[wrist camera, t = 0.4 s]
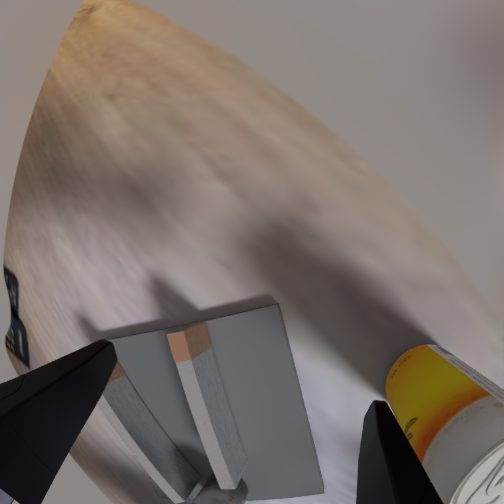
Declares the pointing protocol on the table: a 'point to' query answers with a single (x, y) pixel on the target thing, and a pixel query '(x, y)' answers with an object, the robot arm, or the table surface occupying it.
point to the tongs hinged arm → (158, 447)
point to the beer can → (451, 423)
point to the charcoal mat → (234, 401)
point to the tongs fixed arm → (208, 402)
